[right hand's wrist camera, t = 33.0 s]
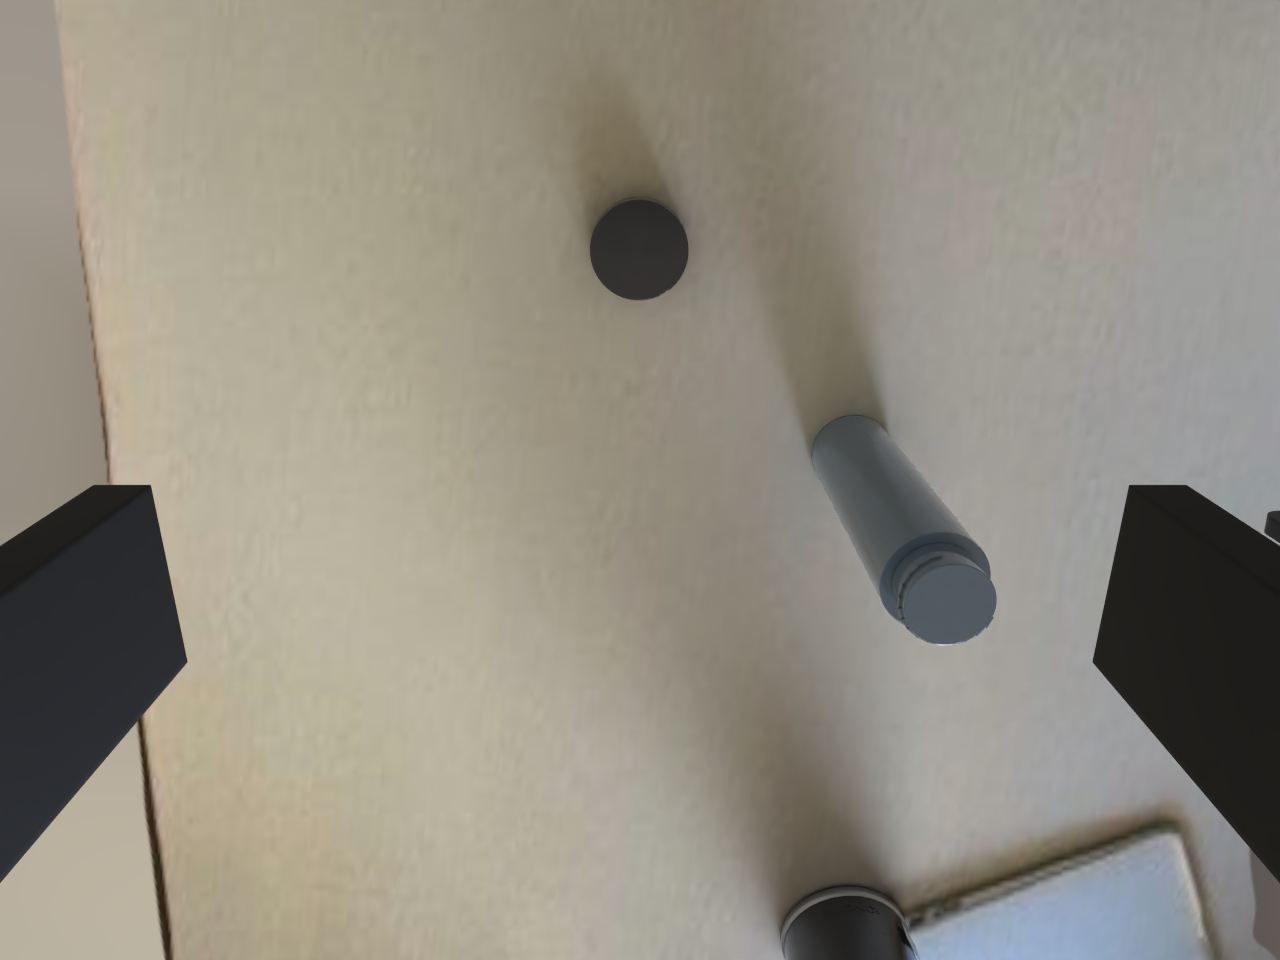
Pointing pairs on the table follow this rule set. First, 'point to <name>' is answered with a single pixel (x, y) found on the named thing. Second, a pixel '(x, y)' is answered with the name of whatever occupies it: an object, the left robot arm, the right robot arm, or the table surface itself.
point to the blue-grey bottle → (904, 534)
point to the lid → (639, 248)
